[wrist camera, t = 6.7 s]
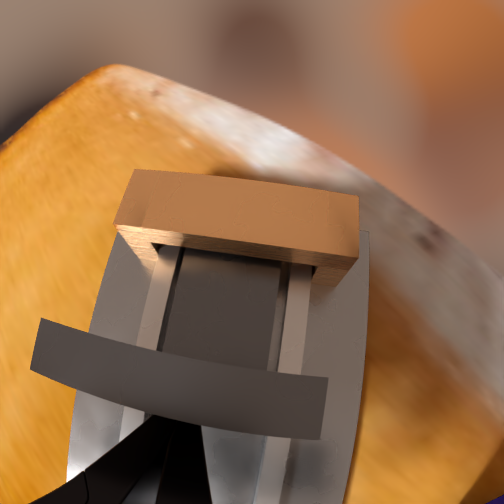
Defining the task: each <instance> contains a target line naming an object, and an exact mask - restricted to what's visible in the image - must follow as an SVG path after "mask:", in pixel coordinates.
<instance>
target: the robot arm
mask: <svg viewBox="0 0 504 504" xmlns="http://www.w3.org/2000/svg"><path fill="white" fill-rule="evenodd" d="M29 504H213V502H212V497H211V490H210V484H209V478H208V471H207V464H206V457H205V450H204V442H203V435H202V427H201V425H197V424H192V423H187V422H183V421H178V420H174V419H170V418H166V417H162V416H158V415H154V414H153V415H152V416H151V417H149V418H148V419H147V420H146V421H145V422H143V423H142V424H141V425H140V426H139V427H137V428H136V429H135V430H134V431H132V432H131V433H130V434H129V435H128V436H126V437H125V438H124V439H123V440H121V441H120V442H119V443H118V444H116V445H115V446H114V447H113V448H111V449H110V450H109V451H108V452H106V453H105V454H104V455H102V456H101V457H100V458H99V459H97V460H96V461H95V462H93V463H92V464H91V465H90V466H88V467H87V468H86V469H85V471H81V472H80V473H79V474H78V475H76V476H75V477H74V478H72V479H71V480H69V481H68V482H66V483H65V484H63V485H62V486H60V487H59V488H57V489H55V490H54V491H52V492H50V493H48V494H46V495H45V496H43V497H41V498H39V499H37V500H35V501H33V502H31V503H29Z"/></svg>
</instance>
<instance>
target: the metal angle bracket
mask: <svg viewBox="0 0 504 504" xmlns="http://www.w3.org/2000/svg"><path fill="white" fill-rule="evenodd" d="M281 263H282V261H279V260H272V259H265V258H258V257H251V256H244V255H237V254H230V253H223V252H216V251H209V250H202V249H195V248H188V247H186V249H185V253H184V257H183V261H182V265H181V270H180V274H179V278H178V282H177V286H176V291H175V295H174V299H173V304H172V308H171V313H170V317H169V322H168V327H167V331H166V336H165V341H164V346H163V351H162V352H160V351H155V350H151V349H147V348H143V347H139V346H135V345H131V344H127V343H123V342H119V341H115V340H112V339H108V338H104V337H101V336H97V335H94V334H91V333H87V332H84V331H81V330H77V329H74V328H71V327H68V326H65V325H62V324H58V323H55V322H52V321H50V320H47V319H44V318H41V321H40V325H39V329H38V333H37V337H36V342H35V346H34V351H33V356H32V361H31V366H30V370H32V371H34V372H37V373H39V374H41V375H43V376H46V377H48V378H50V379H52V380H55V381H57V382H60V383H62V384H64V385H67V386H69V387H72V388H75V389H77V390H80V391H82V392H85V393H88V394H91V395H93V396H96V397H99V398H102V399H105V400H108V401H111V402H114V403H117V404H120V405H123V406H126V407H130V408H133V409H136V410H140V411H143V412H147V413H151V414H154V415H158V416H162V417H166V418H170V419H174V420H178V421H183V422H187V423H192V424H197V425H201V426H206V427H212V428H217V429H223V430H229V431H235V432H241V433H248V434H255V435H263V436H272V437H281V438H292V439H305V440H320V436H321V429H322V423H323V416H324V409H325V402H326V395H327V387H328V379H329V377H318V376H307V375H298V374H289V373H280V372H272V371H267V366H268V359H269V352H270V345H271V338H272V331H273V324H274V317H275V309H276V302H277V294H278V287H279V279H280V271H281Z"/></svg>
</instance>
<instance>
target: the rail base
mask: <svg viewBox="0 0 504 504" xmlns="http://www.w3.org/2000/svg"><path fill="white" fill-rule="evenodd" d="M113 225H114V226H115V227H116V229H117V230H118V232H117V235H116V238H115V241H114V244H113V247H112V250H111V253H110V256H109V260H108V263H107V266H106V269H105V273H104V276H103V279H102V283H101V286H100V290H99V293H98V297H97V301H96V304H95V308H94V312H93V316H92V320H91V324H90V328H89V332H88V333H91V334H94V335H97V336H101V337H104V338H108V339H112V340H115V341H119V342H123V343H127V344H131V345H135V346H139V347H143V348H147V349H151V350H155V351H160V352H162V351H163V346H164V341H165V336H166V331H167V327H168V322H169V317H170V313H171V308H172V304H173V299H174V295H175V291H176V286H177V282H178V278H179V274H180V270H181V265H182V261H183V257H184V253H185V249H186V247H188V248H195V249H202V250H209V251H216V252H223V253H230V254H237V255H244V256H251V257H258V258H265V259H272V260H279V261H282V263H281V271H280V279H279V287H278V294H277V302H276V309H275V317H274V324H273V331H272V338H271V345H270V352H269V359H268V366H267V371H272V372H280V373H289V374H298V375H307V376H318V377H329V379H328V387H327V395H326V402H325V409H324V416H323V423H322V429H321V436H320V440H305V439H292V438H281V437H272V436H263V435H255V434H248V433H241V432H235V431H229V430H223V429H217V428H212V427H206V426H201V427H202V435H203V442H204V450H205V457H206V464H207V471H208V478H209V484H210V490H211V497H212V502H213V504H342V502H343V497H344V493H345V489H346V484H347V479H348V474H349V469H350V464H351V459H352V453H353V448H354V442H355V436H356V429H357V423H358V416H359V408H360V401H361V392H362V383H363V374H364V363H365V352H366V338H367V321H368V298H369V232H367V231H361V230H359V196H355V195H349V194H344V193H338V192H332V191H326V190H319V189H313V188H307V187H300V186H293V185H286V184H279V183H272V182H264V181H256V180H248V179H240V178H231V177H222V176H213V175H203V174H192V173H181V172H169V171H156V170H141V169H134V172H133V174H132V176H131V179H130V181H129V184H128V186H127V189H126V191H125V194H124V196H123V199H122V201H121V204H120V206H119V209H118V211H117V214H116V217H115V219H114V222H113ZM152 415H153V414H151V413H147V412H143V411H140V410H136V409H133V408H130V407H126V406H123V405H120V404H117V403H114V402H111V401H108V400H105V399H102V398H99V397H96V396H93V395H91V394H88V393H85V392H82V391H80V390H77V392H76V398H75V404H74V411H73V418H72V426H71V434H70V443H69V453H68V466H67V482H68V481H69V480H71V479H72V478H74V477H75V476H76V475H78V474H79V473H80V472H81V471H85V469H86V468H87V467H88V466H90V465H91V464H92V463H93V462H95V461H96V460H97V459H99V458H100V457H101V456H102V455H104V454H105V453H106V452H108V451H109V450H110V449H111V448H113V447H114V446H115V445H116V444H118V443H119V442H120V441H121V440H123V439H124V438H125V437H126V436H128V435H129V434H130V433H131V432H132V431H134V430H135V429H136V428H137V427H139V426H140V425H141V424H142V423H143V422H145V421H146V420H147V419H148V418H149V417H151V416H152Z"/></svg>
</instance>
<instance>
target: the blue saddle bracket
mask: <svg viewBox="0 0 504 504" xmlns="http://www.w3.org/2000/svg"><path fill="white" fill-rule="evenodd" d="M486 504H504V495H502V496H500V497H498V498H496V499H494V500H492V501H490V502H488V503H486Z"/></svg>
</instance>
